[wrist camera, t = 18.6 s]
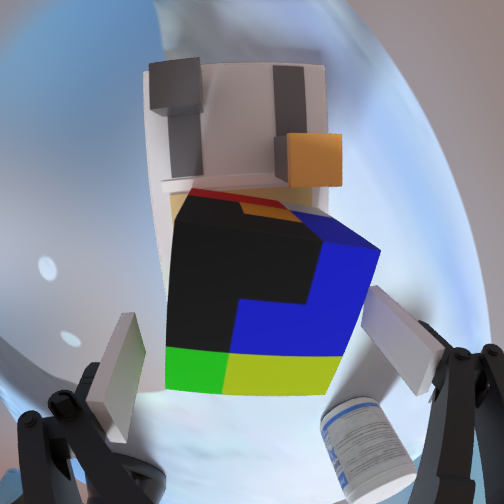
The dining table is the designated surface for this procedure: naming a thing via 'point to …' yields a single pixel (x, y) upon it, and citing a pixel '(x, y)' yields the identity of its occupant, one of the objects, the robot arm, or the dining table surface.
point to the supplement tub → (366, 452)
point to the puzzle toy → (261, 296)
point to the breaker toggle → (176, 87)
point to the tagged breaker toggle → (309, 159)
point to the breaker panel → (232, 139)
